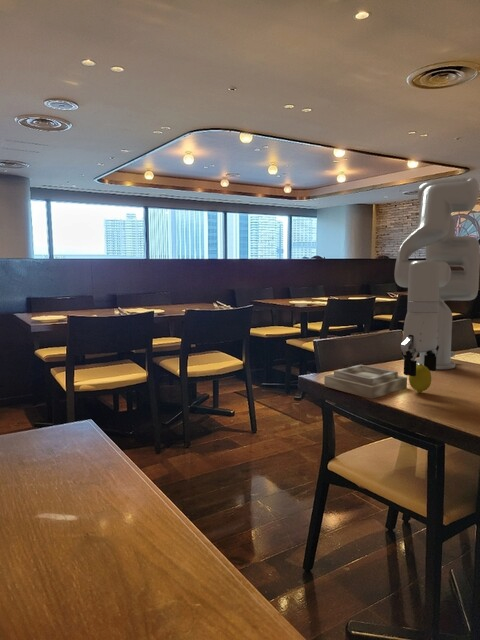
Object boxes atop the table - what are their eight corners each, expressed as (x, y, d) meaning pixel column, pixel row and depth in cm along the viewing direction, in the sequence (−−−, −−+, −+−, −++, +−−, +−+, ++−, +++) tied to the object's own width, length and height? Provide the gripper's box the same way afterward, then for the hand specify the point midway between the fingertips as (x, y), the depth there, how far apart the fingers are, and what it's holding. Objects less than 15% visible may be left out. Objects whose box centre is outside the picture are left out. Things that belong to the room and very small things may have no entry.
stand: (359, 377, 140) (359, 362, 140) (406, 387, 128) (407, 371, 127) (324, 386, 130) (324, 370, 130) (371, 398, 118) (372, 381, 117)
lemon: (427, 390, 125) (428, 361, 124) (433, 396, 120) (434, 366, 118) (406, 390, 126) (407, 361, 125) (411, 395, 120) (412, 365, 119)
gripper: (426, 305, 128) (424, 366, 130) (390, 308, 117) (388, 374, 119) (453, 307, 122) (450, 370, 124) (417, 310, 111) (415, 380, 113)
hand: (420, 372), depth 121 cm, fingers open, 9 cm apart
